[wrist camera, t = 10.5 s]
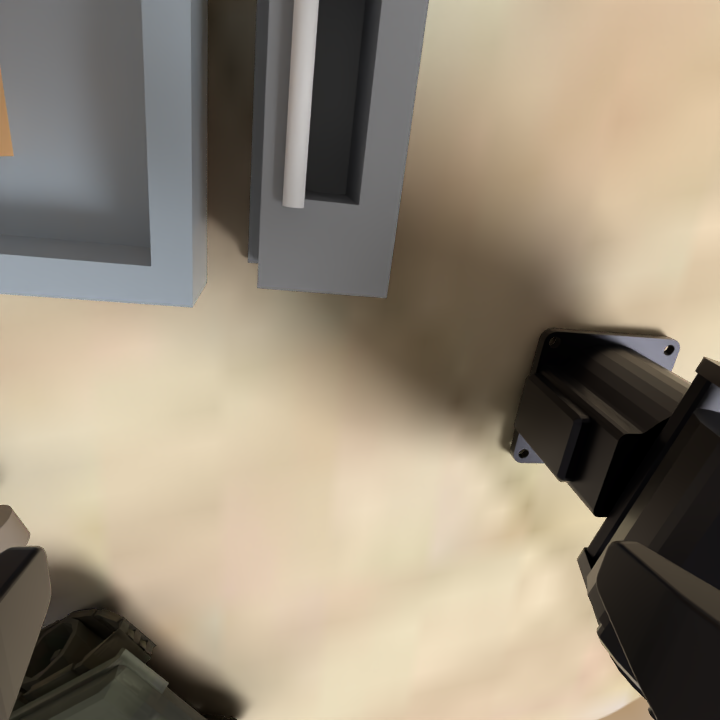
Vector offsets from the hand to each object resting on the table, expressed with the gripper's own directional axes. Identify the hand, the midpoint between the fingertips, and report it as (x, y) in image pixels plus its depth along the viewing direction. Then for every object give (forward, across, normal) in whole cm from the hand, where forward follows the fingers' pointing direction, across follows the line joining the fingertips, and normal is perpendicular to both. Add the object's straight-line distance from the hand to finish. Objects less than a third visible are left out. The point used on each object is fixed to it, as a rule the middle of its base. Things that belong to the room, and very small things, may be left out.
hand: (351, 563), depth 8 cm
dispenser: (+13, 0, -8) cm, 15 cm away
